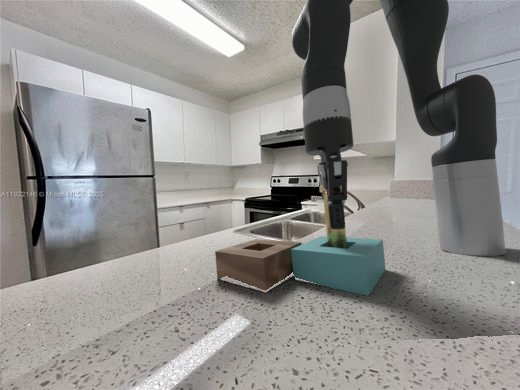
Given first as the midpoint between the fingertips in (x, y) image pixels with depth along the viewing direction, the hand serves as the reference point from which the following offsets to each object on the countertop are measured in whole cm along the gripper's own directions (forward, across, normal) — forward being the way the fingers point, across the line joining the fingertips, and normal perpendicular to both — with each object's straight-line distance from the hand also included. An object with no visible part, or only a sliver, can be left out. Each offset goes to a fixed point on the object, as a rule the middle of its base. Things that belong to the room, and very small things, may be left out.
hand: (335, 226), depth 35 cm
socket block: (+8, 0, 0) cm, 8 cm away
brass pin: (+6, 0, 0) cm, 6 cm away
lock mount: (+8, +1, +13) cm, 16 cm away
